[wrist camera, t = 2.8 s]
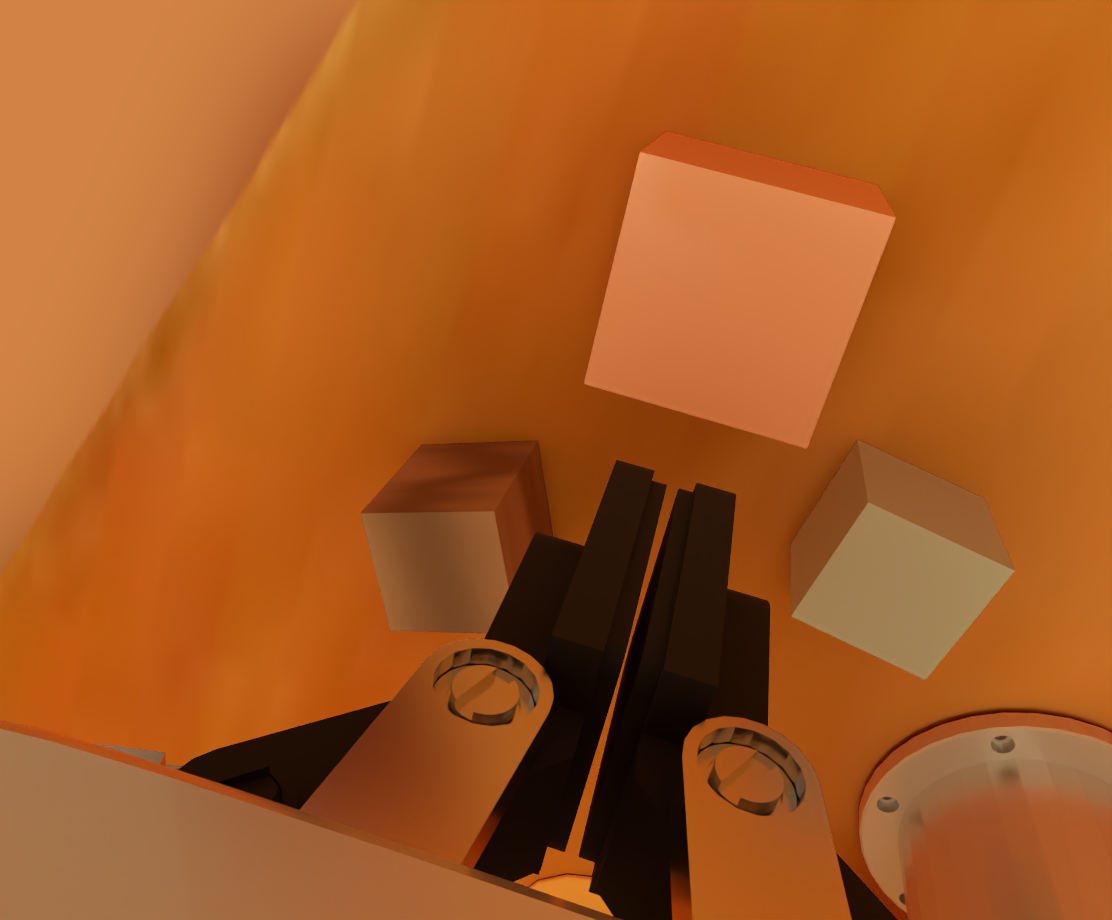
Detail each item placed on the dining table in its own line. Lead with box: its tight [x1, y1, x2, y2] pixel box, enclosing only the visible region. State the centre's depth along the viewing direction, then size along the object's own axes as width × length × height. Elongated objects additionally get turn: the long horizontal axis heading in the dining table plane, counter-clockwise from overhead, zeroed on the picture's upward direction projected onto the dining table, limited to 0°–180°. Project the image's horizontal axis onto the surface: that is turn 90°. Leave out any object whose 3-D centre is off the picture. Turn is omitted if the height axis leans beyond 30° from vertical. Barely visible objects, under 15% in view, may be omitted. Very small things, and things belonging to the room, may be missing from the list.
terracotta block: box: [584, 131, 896, 449], centre depth 28 cm, size 7×7×6 cm
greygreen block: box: [791, 440, 1015, 680], centre depth 31 cm, size 5×5×5 cm
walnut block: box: [360, 441, 553, 633], centre depth 34 cm, size 5×5×6 cm
